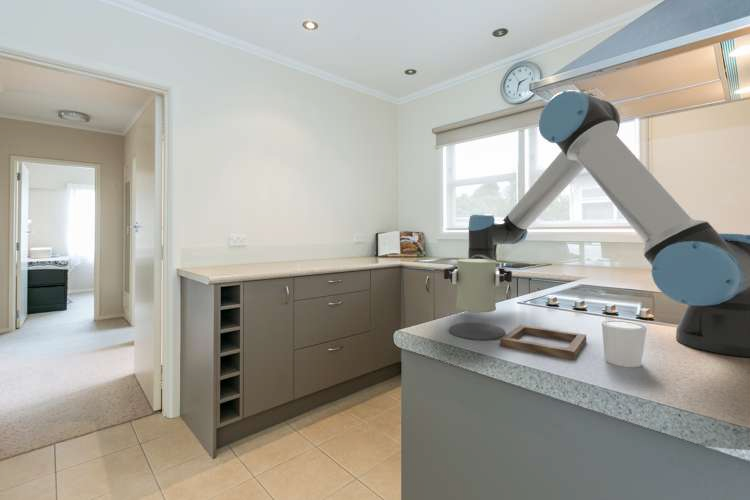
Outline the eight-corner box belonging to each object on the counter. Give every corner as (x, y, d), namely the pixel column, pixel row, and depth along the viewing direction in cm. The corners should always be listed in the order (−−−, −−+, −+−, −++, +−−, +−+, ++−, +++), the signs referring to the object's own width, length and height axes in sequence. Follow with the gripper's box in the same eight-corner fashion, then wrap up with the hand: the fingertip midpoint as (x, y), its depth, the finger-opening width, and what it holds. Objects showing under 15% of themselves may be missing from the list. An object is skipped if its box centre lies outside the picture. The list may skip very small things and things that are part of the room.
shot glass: (653, 369, 64) (655, 330, 64) (611, 367, 66) (612, 328, 65) (632, 356, 71) (634, 320, 71) (594, 354, 72) (595, 319, 72)
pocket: (586, 341, 80) (586, 334, 80) (573, 360, 69) (574, 351, 69) (520, 331, 89) (520, 324, 89) (499, 345, 78) (499, 338, 78)
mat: (513, 330, 89) (513, 328, 89) (493, 343, 79) (493, 341, 79) (463, 322, 97) (463, 320, 97) (439, 333, 87) (439, 331, 87)
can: (498, 313, 83) (499, 260, 82) (456, 311, 85) (457, 259, 84) (493, 304, 92) (494, 257, 91) (455, 303, 94) (456, 256, 93)
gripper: (519, 283, 102) (526, 298, 80) (441, 279, 108) (427, 293, 87) (520, 256, 101) (527, 264, 80) (441, 254, 108) (428, 261, 87)
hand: (475, 279), depth 83 cm, fingers closed on can, 9 cm apart
